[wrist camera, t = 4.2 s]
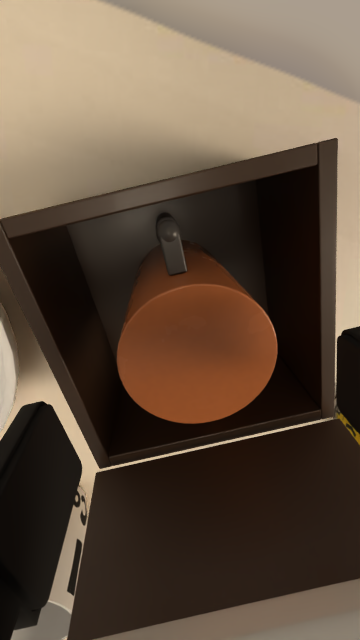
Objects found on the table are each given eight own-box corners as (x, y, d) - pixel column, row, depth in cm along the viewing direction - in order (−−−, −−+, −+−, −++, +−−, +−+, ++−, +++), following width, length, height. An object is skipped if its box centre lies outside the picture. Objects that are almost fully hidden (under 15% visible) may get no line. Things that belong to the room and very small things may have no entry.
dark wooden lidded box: (52, 212, 19) (-21, 224, 11) (261, 162, 19) (338, 137, 11) (117, 382, 25) (99, 469, 17) (277, 345, 25) (334, 416, 17)
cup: (113, 485, 31) (95, 609, 21) (80, 528, 33) (51, 655, 24) (40, 460, 28) (-16, 587, 19) (10, 508, 31) (-51, 640, 22)
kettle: (115, 220, 19) (70, 247, 9) (208, 198, 19) (266, 201, 9) (156, 357, 24) (156, 477, 14) (231, 340, 24) (286, 448, 13)
